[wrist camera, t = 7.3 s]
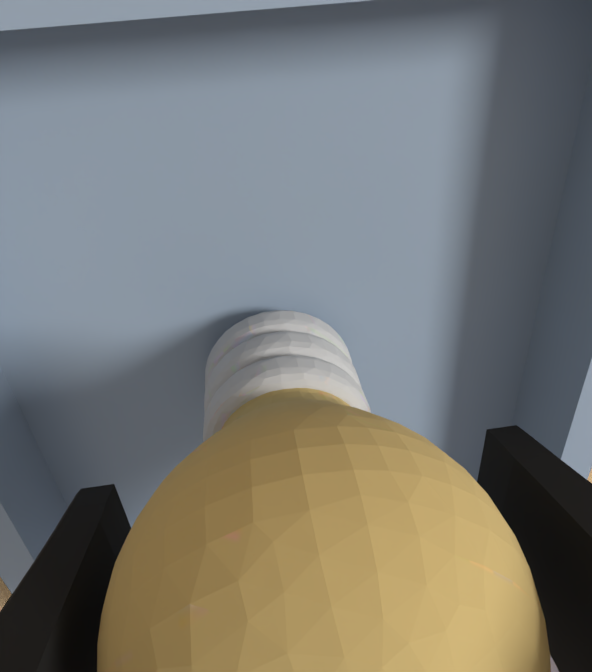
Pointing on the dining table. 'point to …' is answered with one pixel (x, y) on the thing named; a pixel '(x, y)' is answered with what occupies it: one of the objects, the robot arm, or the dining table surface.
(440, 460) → the light bulb
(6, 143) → the parts tray
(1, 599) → the dining table surface
